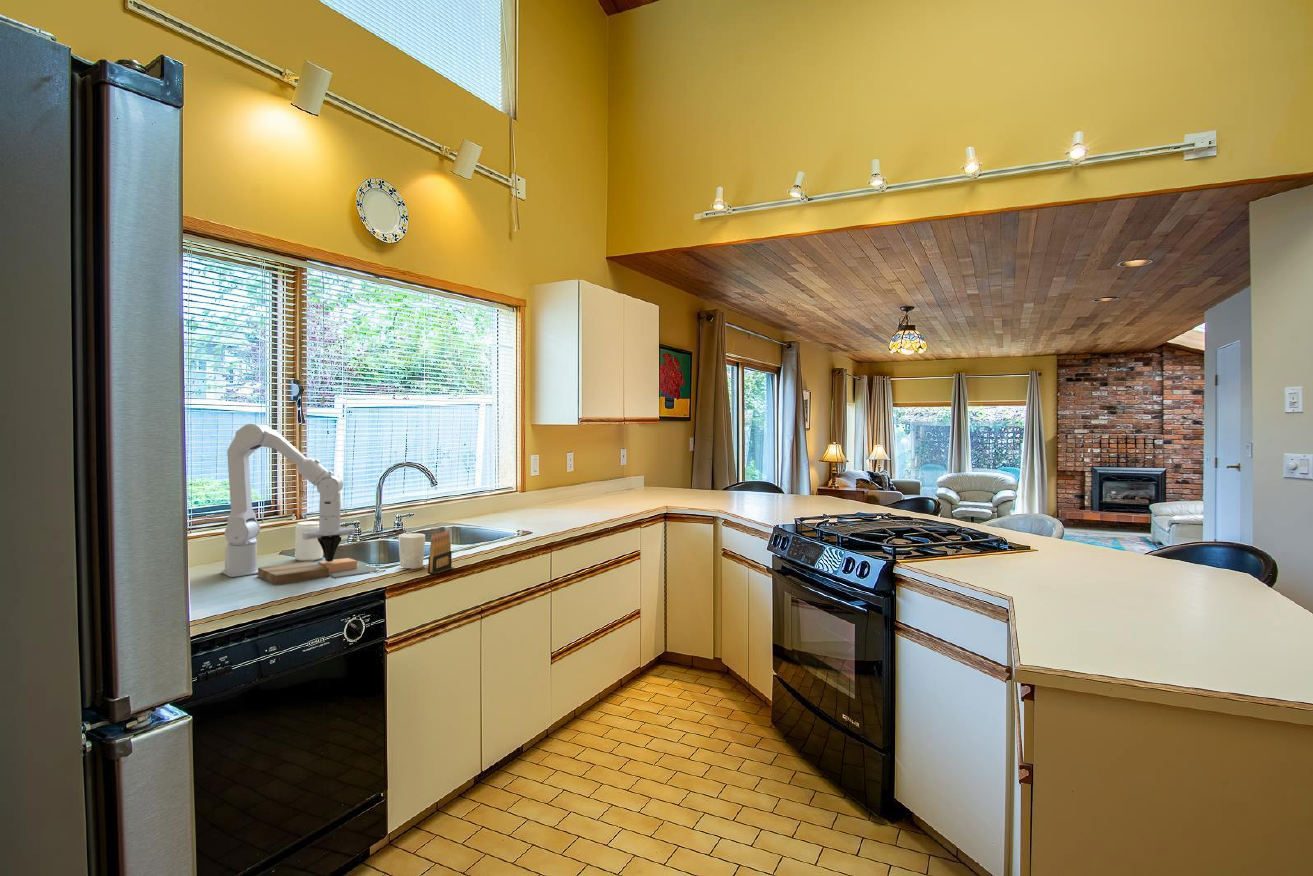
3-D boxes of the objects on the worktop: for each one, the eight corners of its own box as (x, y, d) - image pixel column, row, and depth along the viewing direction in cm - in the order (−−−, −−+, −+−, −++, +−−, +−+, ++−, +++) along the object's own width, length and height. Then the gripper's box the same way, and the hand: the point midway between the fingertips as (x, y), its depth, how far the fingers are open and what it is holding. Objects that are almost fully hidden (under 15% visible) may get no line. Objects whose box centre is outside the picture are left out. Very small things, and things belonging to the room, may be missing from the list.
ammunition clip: (433, 573, 197) (434, 534, 197) (427, 573, 198) (428, 533, 198) (451, 566, 208) (452, 529, 208) (446, 566, 208) (447, 528, 208)
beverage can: (303, 562, 209) (304, 525, 209) (289, 559, 214) (290, 522, 213) (327, 559, 216) (328, 522, 216) (314, 555, 220) (315, 520, 220)
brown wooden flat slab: (258, 576, 189) (258, 567, 189) (309, 569, 200) (309, 561, 200) (275, 584, 180) (276, 575, 180) (328, 576, 190) (328, 568, 190)
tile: (318, 569, 198) (318, 561, 198) (348, 565, 205) (348, 557, 204) (326, 572, 194) (326, 564, 194) (356, 568, 201) (356, 560, 201)
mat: (309, 568, 201) (309, 567, 201) (358, 562, 212) (358, 560, 212) (334, 578, 189) (334, 577, 189) (385, 570, 200) (385, 569, 200)
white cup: (398, 570, 201) (399, 537, 201) (397, 565, 208) (398, 534, 208) (425, 568, 205) (426, 536, 204) (423, 563, 212) (424, 532, 212)
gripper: (309, 519, 189) (308, 566, 189) (360, 515, 200) (359, 559, 200) (300, 516, 194) (299, 562, 194) (349, 513, 205) (349, 556, 205)
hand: (329, 561), depth 197 cm, fingers closed
